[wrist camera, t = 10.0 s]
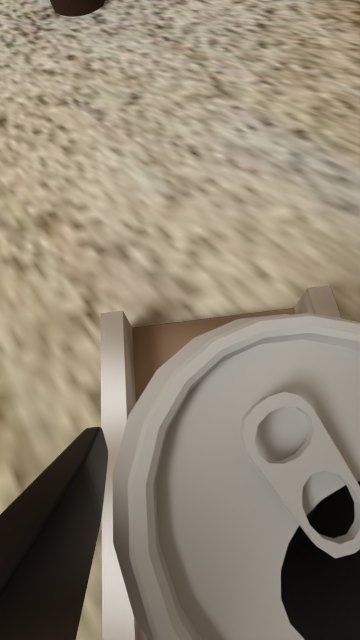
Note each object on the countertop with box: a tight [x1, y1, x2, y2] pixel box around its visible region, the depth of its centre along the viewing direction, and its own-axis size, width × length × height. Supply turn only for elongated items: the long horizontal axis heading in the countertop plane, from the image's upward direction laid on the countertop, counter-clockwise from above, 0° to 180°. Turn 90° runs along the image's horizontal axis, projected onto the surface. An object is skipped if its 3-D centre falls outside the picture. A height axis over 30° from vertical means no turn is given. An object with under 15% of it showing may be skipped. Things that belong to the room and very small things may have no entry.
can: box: [112, 313, 360, 640], centre depth 10 cm, size 8×8×12 cm
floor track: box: [101, 286, 342, 640], centre depth 15 cm, size 16×12×4 cm
